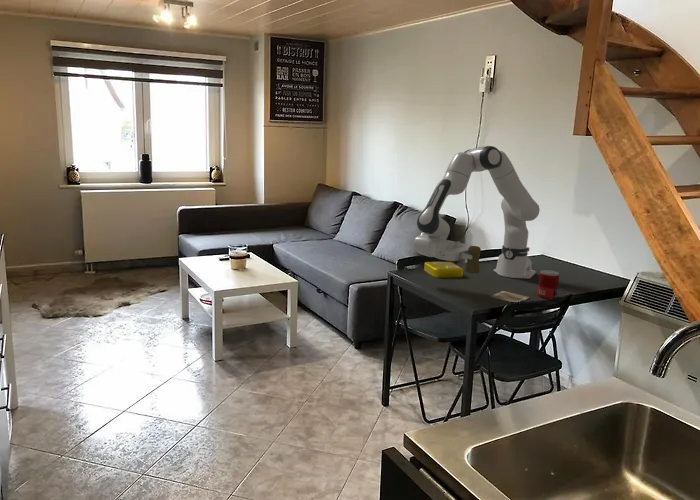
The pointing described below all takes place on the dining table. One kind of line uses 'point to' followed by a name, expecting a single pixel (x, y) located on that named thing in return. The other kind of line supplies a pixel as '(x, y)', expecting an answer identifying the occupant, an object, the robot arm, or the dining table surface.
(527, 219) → the robot arm
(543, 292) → the canned food
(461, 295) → the dining table surface
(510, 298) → the coaster
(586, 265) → the dining table surface
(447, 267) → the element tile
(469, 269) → the cork
